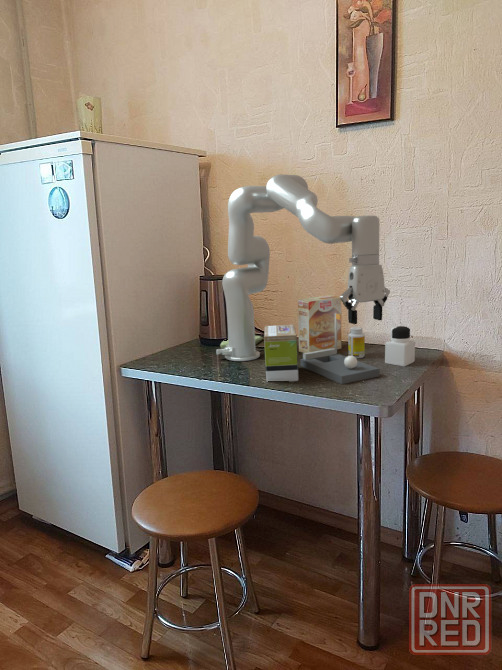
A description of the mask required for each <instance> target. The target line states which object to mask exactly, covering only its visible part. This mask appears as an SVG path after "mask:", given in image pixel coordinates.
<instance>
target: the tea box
mask: <svg viewBox="0 0 502 670" xmlns="http://www.w3.org/2000/svg"><path fill="white" fill-rule="evenodd" d="M263 337H264V338H263V341H264V343H263V344H264V361H265V365H264V366H265V377H266V379H265V380H266V382H267V383H269V382H268V381H289V382H298V381H299V360H298V359H299V358H298V357H299V355H298V354H299V353H298V352H299V350H298V337H297V332H296V328H295V324H282V325H280V324H279V325H264V335H263Z"/></svg>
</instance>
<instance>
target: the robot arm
mask: <svg viewBox="0 0 502 670" xmlns="http://www.w3.org/2000/svg"><path fill="white" fill-rule="evenodd" d="M318 202H319V201H318V196H317V195H316V193H315V192H313V191H312V190H309V185H308V182H307V181H306V179H304V177H302V176H300V175H296V174H276V175H274V176H272V177H271V178H270V179H268V180H267V183H266V186H265V185H263V186H262V185H246V186H241V187H239V188H237V189H235V190H233V192H232V193H231V194H230V197H229V198H228V202H227V212H228V213H227V215H228V237H227V238H228V239H227V240H228V241H227V258H228V260H229V262H230V263H231V264H233V265H237V266H244V265H247V267H239V268H233V269H231V270H228V271H227V272H226V273H224V275H223V278H222V281H221V283H222V289H223V294H224V298H225V305H226V317H227V318H226V319H227V320H226V321H227V323H226V324H227V339H228V342H229V345H226V347H225V348H224V349H222V348H218V349H215V352H216V355H217V356H218V355H219V356H220V355H222V356H224V358H225V359H226V360H229V361H233V362H246V361H253V360H257V359H259V358H260V356H261V352H260V351H258V350H256V345H255V336H256V333H255V332H256V330H255V313H254V305H253V302H252V300H251V298H250V295H253V294H256V293H260V292H263V291H264V290H265V289H266V287H267V286H268V282H269V273H270V272H269V271H270V270H269V269H270V255H271V251H270V250H271V249H270V246H269V243H268V241H267V240H266V239H265V238H264V237H262V236H260V235H254V233H255V224H254V220H253V217H252V215H251V214H254V213H255V214H256V213H257V214H258V213H274V212H275V213H276V212H278V211H280V210H283V209H285V210H286V211H288V212H289V213H290V214H292V215H293V216H295V217H297V219H298V221H299V223H300V225H301V227H302V228H303V229H304V230H305V232H306V233H308V234H310V235H311V236H312V237H314V238H315V239H316V240H319V241H320V242H321V243H325V244H329V245H330V244H331V245H332V244H333V245H334V244H343V243H350V242H351V257H350V258H349V259H348V262H349V263H350V264H351V266H350V267H349V272H348V279H347V289H346V290H345V291H344V292H343V293H342V294H341V295H340V296H339V297H340V299H341V303H342V304H343V306H344V307H345V309H346V310H347V311H348V312H347V315H348V323H349V324H352V325H357V324H358V310H356V309H357V307H358V305H359V304H360V303H367V302H373V304H374V305H373V309H372V310H373V312H372V313H373V314H372V315H373V316H372V317H373V319H374V320H376V321H382V320H383V307H384V306H385V303H386V302H387V300H388V297H389V295H390V293H391V291H390V289H388V288H387V287H385V277H384V271H383V267H382V266H383V265H382V264H380V223H381V222H380V219H379V218H380V217H378V216H377V215H357V216H354V215H335V216H332V215H329V214H327V213H325V212H324V211H323V210H321V209H320V208H318V207H317V206H318Z"/></svg>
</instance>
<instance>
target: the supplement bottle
mask: <svg viewBox="0 0 502 670" xmlns="http://www.w3.org/2000/svg"><path fill="white" fill-rule="evenodd" d="M347 335H348V336H347V340H348V341H347V342H348V343H347V344H348V345H347V348H348V350H347V351H348V352H347V353H348V356H354V357H355V358H356V359H362V358H364V357H365V356H366V351H365V349H366V348H365V347H366V346H365V343H366V341H365V337H366V336H365V333H363V327H361V326H352V327H350V333H348V334H347Z"/></svg>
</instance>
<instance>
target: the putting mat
mask: <svg viewBox="0 0 502 670" xmlns="http://www.w3.org/2000/svg"><path fill="white" fill-rule="evenodd" d="M337 319H338V320H341V321H342V313H341V314H337V313H335V349H334V348H331V349H325V350H320V351H314V352H308V353H303V352H302V358H300V367H302V368H304V369H306V370H309V371H311V372H313V373H316V374H318V375H320V376H322V377H325V378H327V379H329V380H331V381H334V382H336V383H338V384H340V385H344V384H349V383H353V382H359V381H363V380H367V379H372V378H377V377H380V375H381V374H380V373H381V372H380V369H381V368H379V367H376V366H374V365H370V364H368V363H365V362H362V361H360V360H357V366H356V367H355V368H353V369H349V368H347V367H346V366H345V364H344V360H345V358H346V357H347V356H346V355H343V354H340V353H338V349H337Z"/></svg>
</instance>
